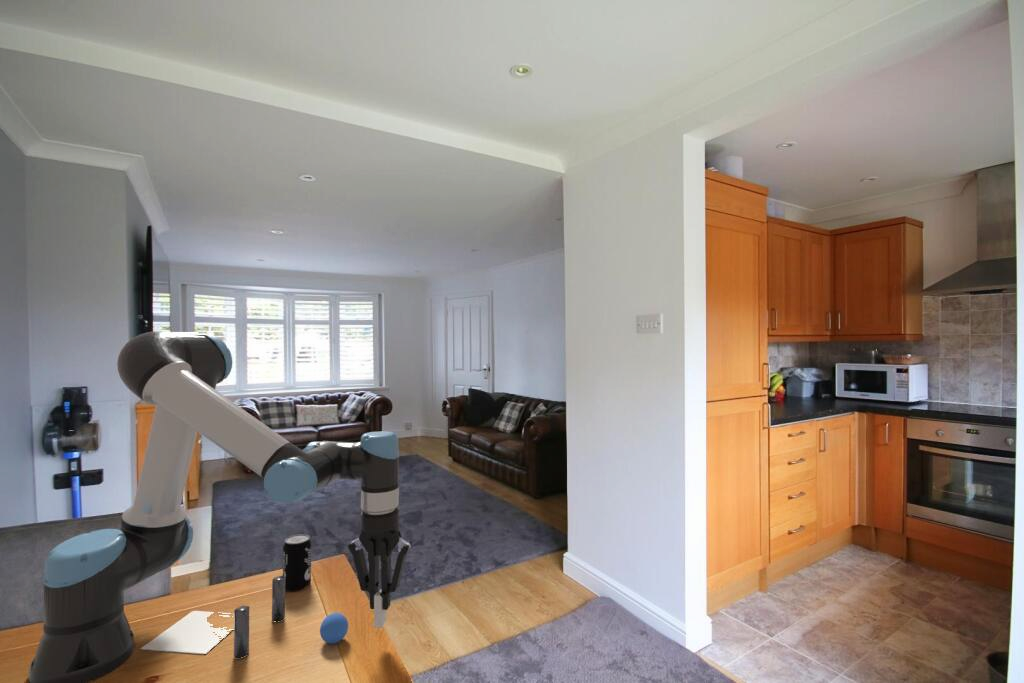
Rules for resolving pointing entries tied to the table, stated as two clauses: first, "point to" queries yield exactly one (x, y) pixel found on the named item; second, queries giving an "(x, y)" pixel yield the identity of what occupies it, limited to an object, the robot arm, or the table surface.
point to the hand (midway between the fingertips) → (380, 624)
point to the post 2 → (278, 598)
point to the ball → (334, 628)
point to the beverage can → (297, 562)
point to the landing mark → (189, 635)
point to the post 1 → (241, 631)
